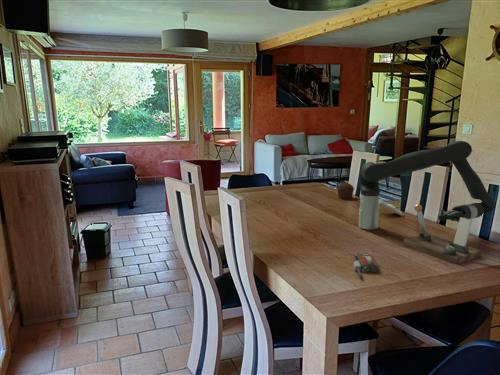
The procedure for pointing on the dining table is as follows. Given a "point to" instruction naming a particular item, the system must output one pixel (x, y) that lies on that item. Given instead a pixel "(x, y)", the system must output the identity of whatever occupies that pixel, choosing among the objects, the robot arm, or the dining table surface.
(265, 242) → the dining table surface
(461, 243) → the panel
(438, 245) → the walnut switch panel
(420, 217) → the steel toggle lever
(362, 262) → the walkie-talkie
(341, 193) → the muffin
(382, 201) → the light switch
